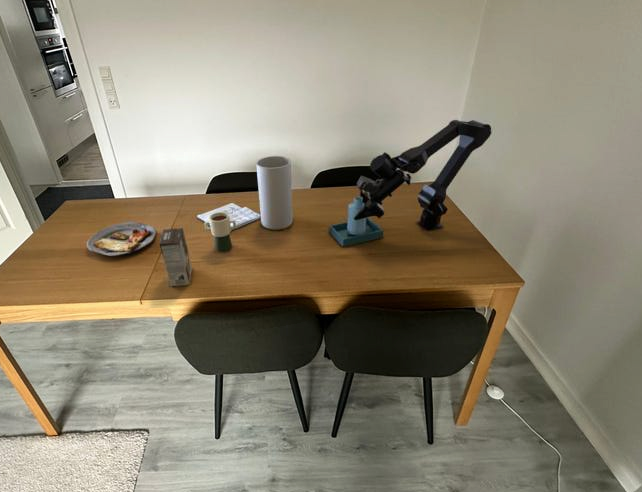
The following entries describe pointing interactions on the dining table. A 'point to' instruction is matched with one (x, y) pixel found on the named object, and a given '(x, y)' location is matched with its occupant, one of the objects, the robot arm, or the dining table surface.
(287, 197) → the cylinder vase
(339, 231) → the teal open tray
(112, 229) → the food plate
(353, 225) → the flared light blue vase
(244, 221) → the white printed square slab
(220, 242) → the character mug
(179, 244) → the coffee box
